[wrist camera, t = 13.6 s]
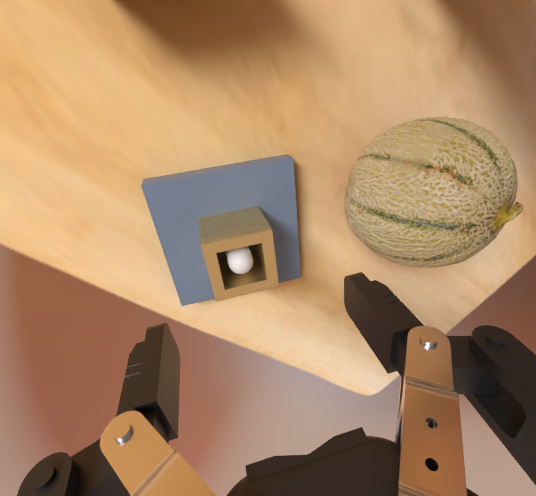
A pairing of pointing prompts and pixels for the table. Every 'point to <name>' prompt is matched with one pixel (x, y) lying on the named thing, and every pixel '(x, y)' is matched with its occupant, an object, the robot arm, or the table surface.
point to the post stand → (220, 201)
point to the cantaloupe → (431, 192)
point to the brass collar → (232, 237)
